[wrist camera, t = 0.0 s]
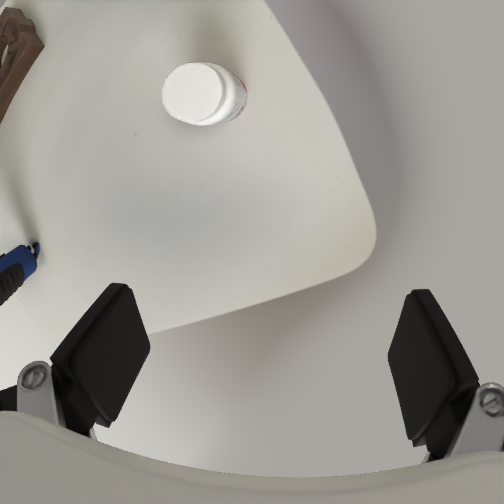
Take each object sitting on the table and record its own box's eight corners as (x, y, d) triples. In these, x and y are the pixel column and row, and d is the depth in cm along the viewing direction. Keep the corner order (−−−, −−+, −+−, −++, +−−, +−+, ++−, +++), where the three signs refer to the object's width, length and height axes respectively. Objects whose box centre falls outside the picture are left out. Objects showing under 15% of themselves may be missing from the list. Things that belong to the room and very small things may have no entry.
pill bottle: (193, 75, 22) (154, 62, 14) (246, 70, 21) (227, 50, 14) (196, 125, 24) (157, 131, 17) (248, 121, 23) (230, 124, 16)
